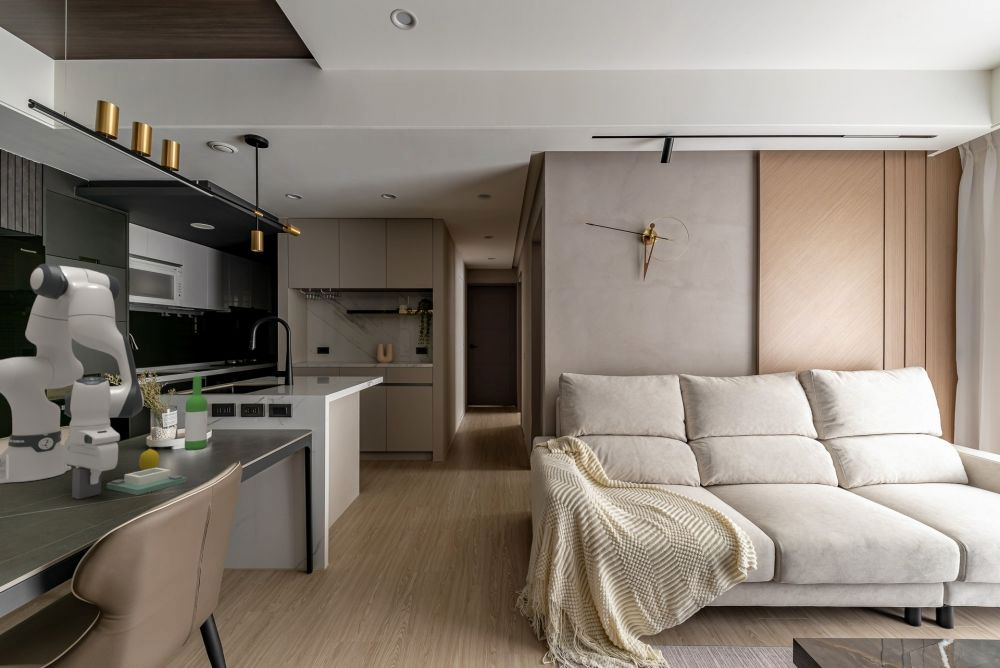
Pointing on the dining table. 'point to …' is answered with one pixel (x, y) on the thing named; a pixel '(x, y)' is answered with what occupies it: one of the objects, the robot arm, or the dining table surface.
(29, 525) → the dining table surface
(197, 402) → the wine bottle
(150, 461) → the lemon
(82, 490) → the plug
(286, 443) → the dining table surface
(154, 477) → the header board
